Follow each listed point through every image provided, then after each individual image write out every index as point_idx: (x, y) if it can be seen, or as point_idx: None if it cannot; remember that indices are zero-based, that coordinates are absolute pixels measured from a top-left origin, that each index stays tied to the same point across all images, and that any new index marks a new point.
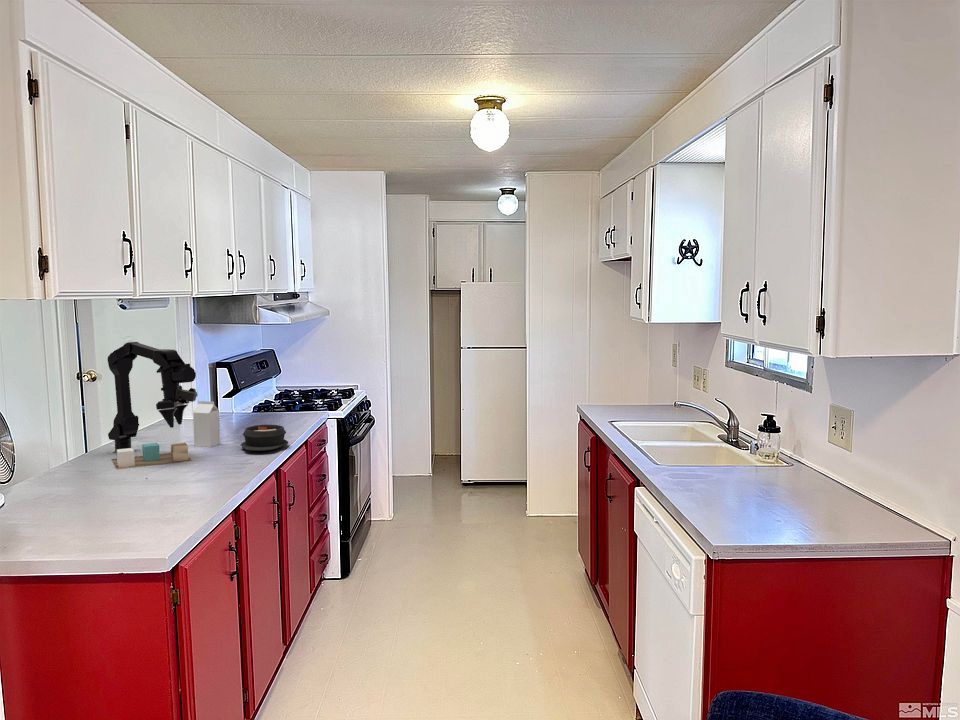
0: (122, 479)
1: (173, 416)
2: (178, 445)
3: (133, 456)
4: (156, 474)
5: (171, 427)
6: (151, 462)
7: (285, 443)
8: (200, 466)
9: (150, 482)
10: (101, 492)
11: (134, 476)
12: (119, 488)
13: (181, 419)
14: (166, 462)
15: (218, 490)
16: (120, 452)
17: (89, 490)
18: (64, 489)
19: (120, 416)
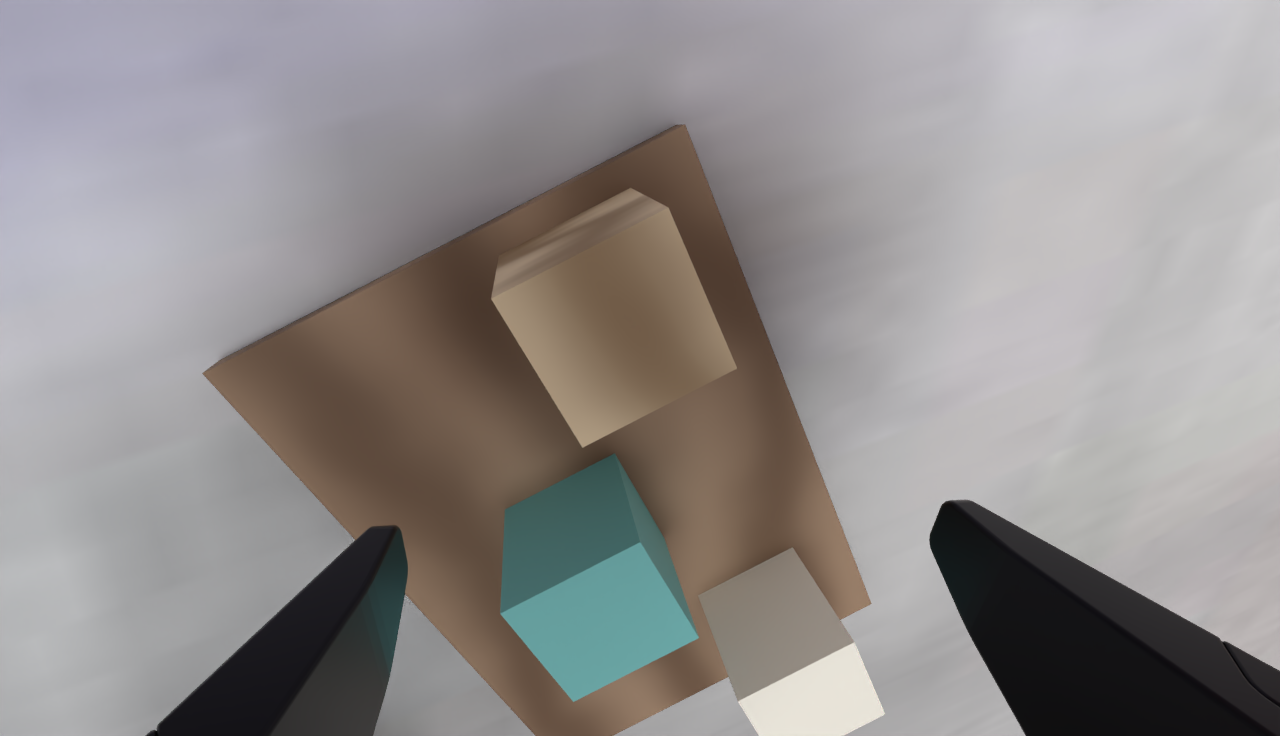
0: (1026, 491)
1: (1266, 694)
2: (678, 328)
3: (829, 606)
4: (970, 332)
5: (954, 524)
6: (704, 479)
7: None
8: (787, 7)
9: (1169, 296)
10: (1249, 479)
11: (977, 454)
12: (1217, 425)
13: (354, 607)
14: None
15: None
16: (878, 702)
17: (1182, 548)
18: None
19: None
